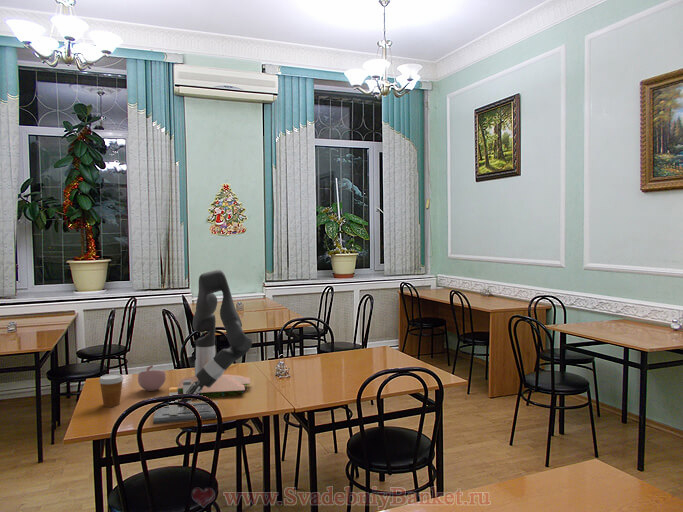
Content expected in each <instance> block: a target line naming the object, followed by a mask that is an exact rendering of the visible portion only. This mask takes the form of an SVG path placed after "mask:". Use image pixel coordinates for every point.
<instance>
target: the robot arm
mask: <svg viewBox="0 0 683 512" xmlns="http://www.w3.org/2000/svg"><path fill="white" fill-rule="evenodd" d="M223 271H224V270H223ZM223 271H222V270H221V269H216V270H215V269H214V270H210V271H208V272H204V273H201V274H200V275H199V277H198V293H197V299H196V305H195V312H194V314H193V318H192V328H193V331H194V332H197V333H207V334H206V335H204V336H202V337H199V338H198V339H196V342H195V358H196V359H195V360H194V376H196V377H197V378H198V380H197V381H195V382H193V384H192V385H191V386H190V388H189V389H188V390H187V391H186V394H196V395H198V396H199V394H200V392H201V391H202V390H203V389H202V388H203V386H206V387H208V388H209V387H211V386H212V385H213V384H214V383H215V382H216V381H217V380H218V379H219V378H220V376H221V375H222V374H224V373H225V372H226V371H227V369H228V368H229V367H230V366H231V365H232V364H233V363H234V362H236V361H237V360H239V359H240V358H241V357H243V356H245V355H246V354H247V353H248V352H249V351H250V349H251V348H252V345H253V341H252V338H251V337H250V336H248V334H245V332H244V330H243V324H242V323H243V322H242V320H241V318H240V317H239V314H238V312H237V309H236V306H235V303H234V299H233V296H232V293H231V289H230V287H229V286H230V285H229V283H228V280H227V279H228V278H227V277H226V275H225V273H224V272H223ZM217 292H222V299H221V305H220V308H219V309H220V310H219V316H220V320H221V322H222V325H223V327H224V329H225V334H226V339H227V341H228V343H229V345H230V346H229V347H227V348H222V349H220V350H219V351H218V352H217V353H216V321H217V320H216V314H214V313H215V312H216V310H217V306H218V297H217V296H216V294H215V293H217ZM192 400H193V399H182V398H181V399H180V400H178V402H184V403H187V401H191V402H192ZM178 406H179V407H183V405H178Z"/></svg>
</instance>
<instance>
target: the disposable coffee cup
mask: <svg viewBox="0 0 683 512" xmlns="http://www.w3.org/2000/svg"><path fill="white" fill-rule="evenodd" d="M123 381H124V377H123V374H122V373H121V374H120V373H110V374H103V375H102V376H100V377H99V379H98V383H99V384H100V390H101V397H102V403H103V406H104V407H109V408H110V407H116V406H119V405H120V403H121V395H122V389H123V387H122V386H123Z"/></svg>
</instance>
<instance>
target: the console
mask: <svg viewBox="0 0 683 512" xmlns="http://www.w3.org/2000/svg"><path fill="white" fill-rule="evenodd" d="M205 402H206V401H203V402H201V401H200V402H191V405H193V406H194V407H195V408H196V409H197V411H198V412H199V414H200V416H201V419H202V420H213V419H217V418H216V413H215V411H214V410H213V409H212V408H211V406H209V405H208V404H207V403H205ZM214 402H215V403H216V404H217V406H218V401H217V400H216V401H215V400H214ZM189 421H197V420H196V417H195V415H194V413H193V412H192V411H191V410H189V409H187V408H186V407H179V406H178V414H177V415H169V406H165V407H162V408H160V409H158V410H157V411H156V410H155V412H154V415H153V419H152V423H153V424H164V423H176V422H178V423H179V422H189Z"/></svg>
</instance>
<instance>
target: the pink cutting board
mask: <svg viewBox="0 0 683 512" xmlns="http://www.w3.org/2000/svg"><path fill="white" fill-rule="evenodd" d="M184 380H191V385H192V384H193V382H195V381H197V380H198V378H197V377H196V376H195V375H194V376H188V377H184V378H180V379H179V381H178V384H177V386H176V387H178V392H179V391H180V392H181V391H183V381H184ZM251 384H252V383H251V378H250V377H245V376H244V375H237V374H236V375H235V374H227V373H225V374H224V373H223V374H222V375H221V376H220V378H219V379H218V380H217V381H216V382H215V383H214V384H213V385H212V386H211V387H209V388H208V387H206V386H203V388H202V389H203V390H202V391H201V392H200V393H199V395H200V394H201V395H202V394H204V393H205V394H206V393H208V395H209V396H208V397H213V396H212V395H211V394H210V393H214V396H219V393H222V395H225V392H229V394H230V395H236V393H235V392H244V391H246V386H247V385H248V386H249V385H251ZM216 393H217V394H216ZM210 395H211V396H210Z"/></svg>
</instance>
